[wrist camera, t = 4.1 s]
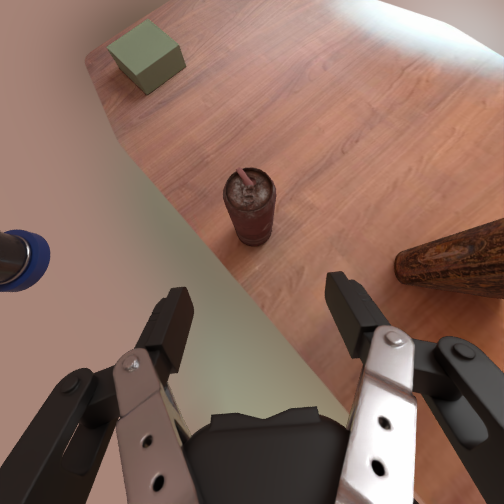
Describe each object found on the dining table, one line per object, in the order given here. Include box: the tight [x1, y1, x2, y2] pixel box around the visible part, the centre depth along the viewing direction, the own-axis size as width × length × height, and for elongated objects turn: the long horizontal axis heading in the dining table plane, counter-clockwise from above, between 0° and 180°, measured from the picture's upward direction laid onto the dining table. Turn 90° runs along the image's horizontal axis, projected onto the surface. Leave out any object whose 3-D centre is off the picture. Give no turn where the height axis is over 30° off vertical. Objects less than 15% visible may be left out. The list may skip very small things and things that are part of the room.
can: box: [223, 168, 276, 246], centre depth 29 cm, size 6×6×14 cm
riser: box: [107, 19, 186, 95], centre depth 43 cm, size 11×11×4 cm
